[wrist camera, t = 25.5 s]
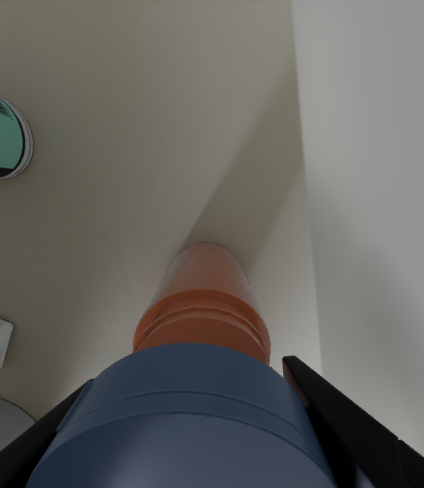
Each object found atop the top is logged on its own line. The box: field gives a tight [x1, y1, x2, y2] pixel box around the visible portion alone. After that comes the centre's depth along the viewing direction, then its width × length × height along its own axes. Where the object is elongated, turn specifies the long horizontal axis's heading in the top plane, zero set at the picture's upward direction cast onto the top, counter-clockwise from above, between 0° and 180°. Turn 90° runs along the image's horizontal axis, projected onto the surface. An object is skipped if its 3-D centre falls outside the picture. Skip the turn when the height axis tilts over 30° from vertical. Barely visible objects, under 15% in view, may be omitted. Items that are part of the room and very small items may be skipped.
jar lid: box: [25, 343, 339, 488], centre depth 5 cm, size 7×6×2 cm
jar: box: [132, 242, 273, 369], centre depth 13 cm, size 6×6×10 cm
